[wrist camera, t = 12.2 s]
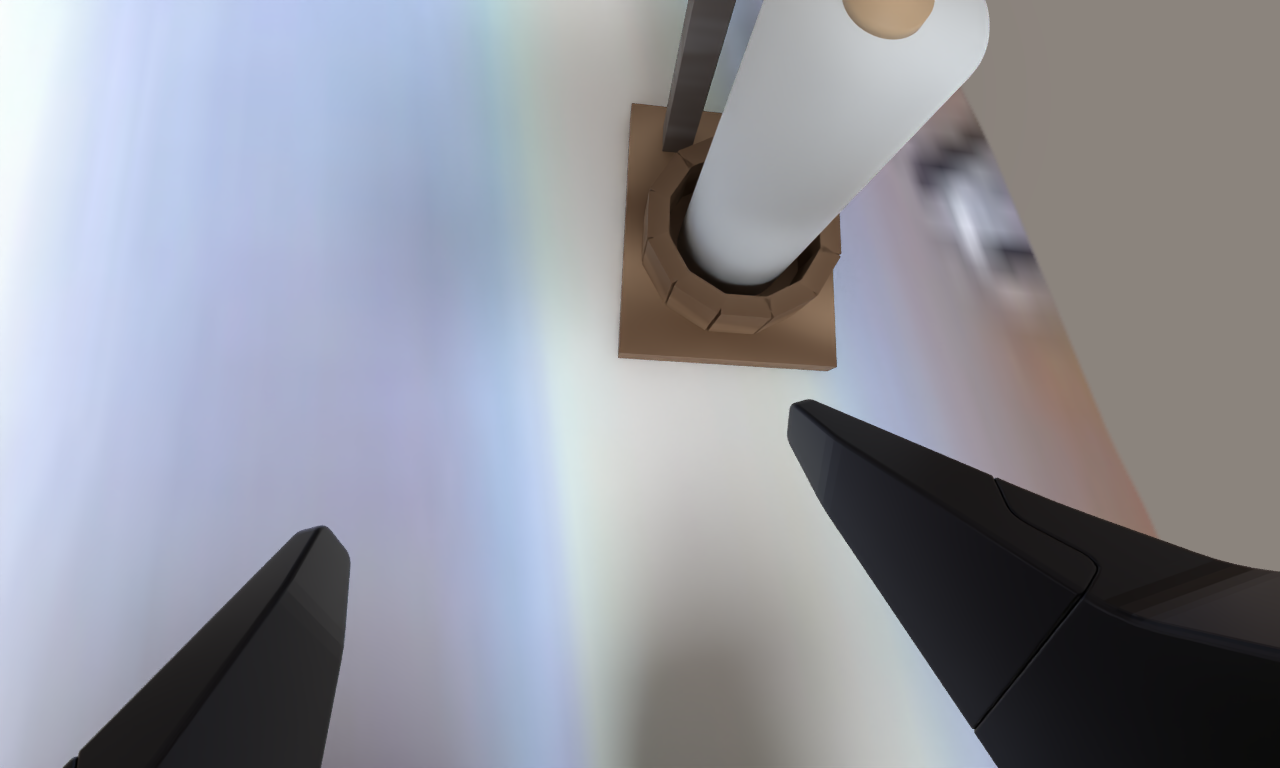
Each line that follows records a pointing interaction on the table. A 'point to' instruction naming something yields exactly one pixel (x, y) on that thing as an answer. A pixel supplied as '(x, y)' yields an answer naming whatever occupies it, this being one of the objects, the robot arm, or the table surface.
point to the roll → (818, 124)
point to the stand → (655, 209)
